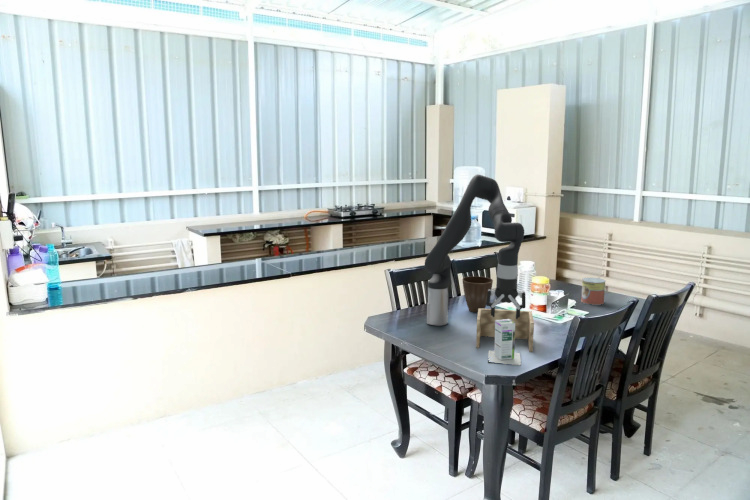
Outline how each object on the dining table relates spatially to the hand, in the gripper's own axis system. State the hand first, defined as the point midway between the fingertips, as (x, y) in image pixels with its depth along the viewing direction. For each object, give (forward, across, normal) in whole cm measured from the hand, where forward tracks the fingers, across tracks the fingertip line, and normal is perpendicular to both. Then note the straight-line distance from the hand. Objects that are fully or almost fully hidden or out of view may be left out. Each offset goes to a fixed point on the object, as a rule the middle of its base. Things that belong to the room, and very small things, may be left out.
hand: (505, 317), depth 198 cm
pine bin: (+16, 0, -17) cm, 24 cm away
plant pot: (+17, +13, -62) cm, 66 cm away
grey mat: (+16, 0, 0) cm, 16 cm away
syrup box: (+16, 0, 0) cm, 16 cm away
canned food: (+17, -46, -90) cm, 103 cm away
